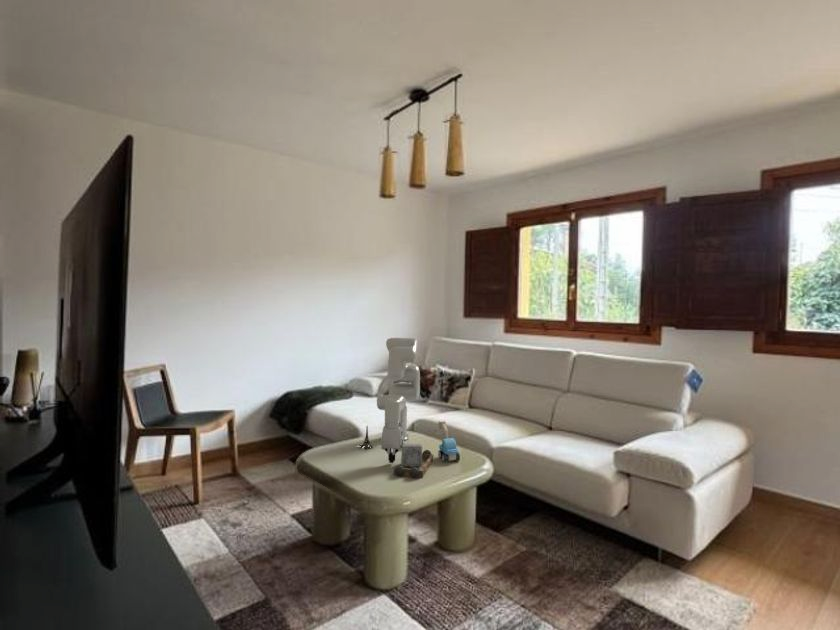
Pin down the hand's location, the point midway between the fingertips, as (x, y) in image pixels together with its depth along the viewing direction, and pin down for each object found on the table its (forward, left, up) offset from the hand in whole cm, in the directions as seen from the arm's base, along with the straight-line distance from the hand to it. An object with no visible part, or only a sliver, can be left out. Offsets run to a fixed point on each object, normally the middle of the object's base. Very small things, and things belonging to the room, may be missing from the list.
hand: (391, 461), depth 220 cm
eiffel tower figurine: (-19, -20, -2) cm, 28 cm away
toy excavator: (-18, +24, -2) cm, 30 cm away
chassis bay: (0, +11, -1) cm, 11 cm away
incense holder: (-2, +9, -2) cm, 10 cm away
